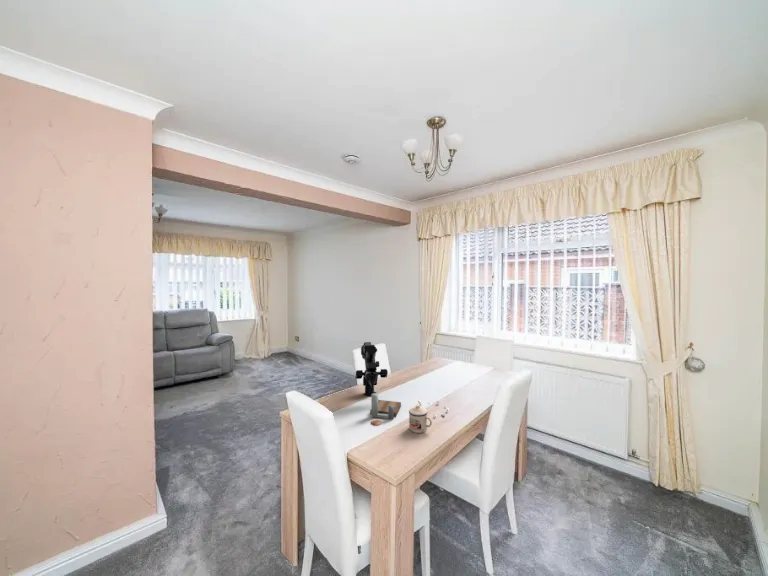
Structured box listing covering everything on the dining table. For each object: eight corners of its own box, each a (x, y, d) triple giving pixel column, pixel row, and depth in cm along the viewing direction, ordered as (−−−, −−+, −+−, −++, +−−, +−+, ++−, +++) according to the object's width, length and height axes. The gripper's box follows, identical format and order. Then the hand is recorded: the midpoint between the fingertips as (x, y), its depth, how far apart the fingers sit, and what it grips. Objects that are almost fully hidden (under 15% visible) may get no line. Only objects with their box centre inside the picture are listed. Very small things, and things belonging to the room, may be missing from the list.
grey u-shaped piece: (394, 416, 157) (394, 395, 156) (393, 419, 153) (392, 397, 153) (372, 414, 160) (372, 393, 160) (370, 417, 156) (370, 395, 156)
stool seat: (400, 406, 170) (400, 402, 170) (390, 427, 146) (390, 422, 146) (377, 403, 174) (377, 399, 174) (364, 424, 150) (364, 419, 150)
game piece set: (407, 406, 171) (407, 400, 171) (437, 401, 178) (437, 395, 178) (424, 421, 153) (424, 414, 153) (456, 415, 160) (456, 408, 160)
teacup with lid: (405, 429, 144) (405, 406, 143) (414, 422, 151) (414, 400, 151) (427, 437, 137) (427, 412, 136) (436, 429, 144) (436, 405, 144)
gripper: (355, 356, 173) (356, 381, 162) (387, 355, 175) (390, 380, 165) (355, 366, 181) (356, 390, 170) (385, 365, 183) (388, 389, 173)
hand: (372, 387), depth 169 cm, fingers closed
